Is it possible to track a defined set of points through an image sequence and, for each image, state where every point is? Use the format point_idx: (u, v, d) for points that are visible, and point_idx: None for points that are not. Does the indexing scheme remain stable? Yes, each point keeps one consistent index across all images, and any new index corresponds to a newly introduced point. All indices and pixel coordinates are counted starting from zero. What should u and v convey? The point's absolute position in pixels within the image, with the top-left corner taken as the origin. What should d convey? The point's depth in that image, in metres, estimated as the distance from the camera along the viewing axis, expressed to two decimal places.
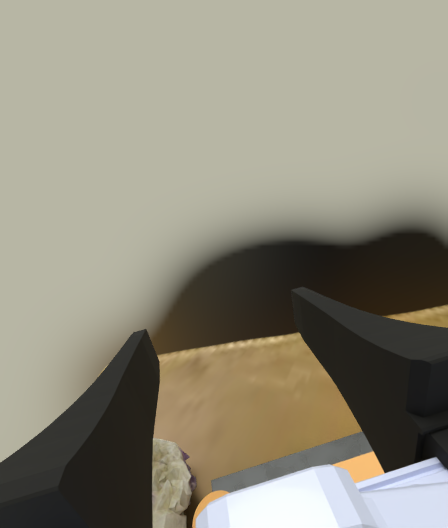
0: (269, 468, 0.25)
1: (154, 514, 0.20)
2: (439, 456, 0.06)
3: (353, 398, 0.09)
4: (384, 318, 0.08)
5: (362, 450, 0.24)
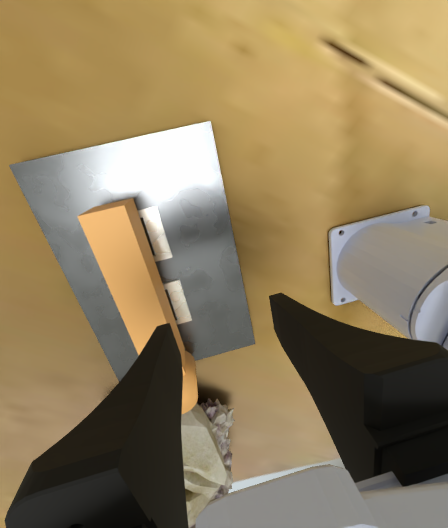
0: (101, 331, 0.22)
1: None
2: (394, 471, 0.06)
3: (324, 407, 0.09)
4: (352, 327, 0.08)
5: (67, 227, 0.18)
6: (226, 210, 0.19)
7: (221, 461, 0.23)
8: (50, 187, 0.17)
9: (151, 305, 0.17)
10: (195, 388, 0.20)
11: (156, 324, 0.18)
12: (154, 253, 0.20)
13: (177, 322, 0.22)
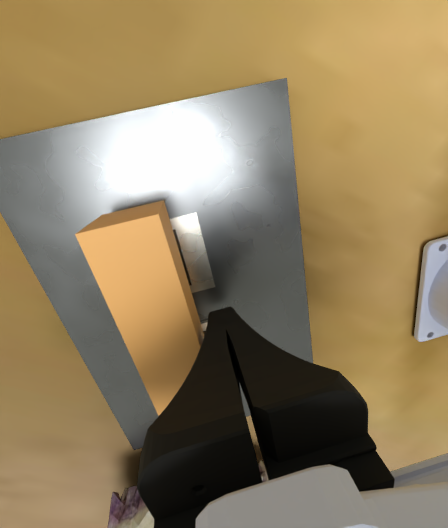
0: (110, 388, 0.15)
1: None
2: None
3: (255, 428, 0.09)
4: (276, 349, 0.08)
5: (60, 245, 0.12)
6: (296, 218, 0.13)
7: None
8: (32, 183, 0.11)
9: None
10: None
11: None
12: (189, 281, 0.13)
13: None
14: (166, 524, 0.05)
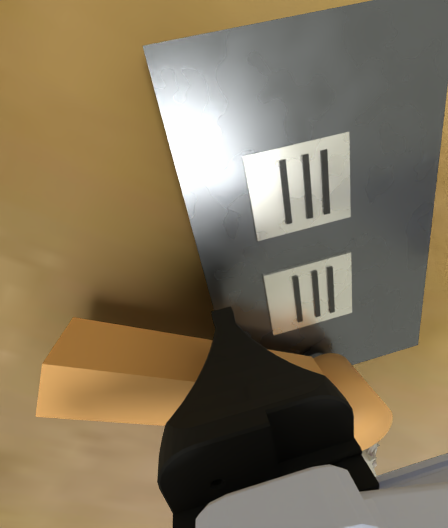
0: None
1: None
2: None
3: None
4: (266, 352, 0.08)
5: (212, 164, 0.12)
6: (437, 144, 0.13)
7: None
8: (200, 91, 0.10)
9: None
10: (370, 401, 0.12)
11: None
12: (329, 209, 0.13)
13: (333, 315, 0.16)
14: (185, 518, 0.06)
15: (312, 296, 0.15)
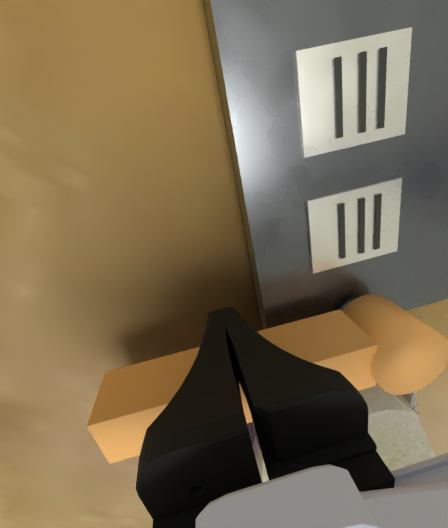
0: (266, 264, 0.14)
1: None
2: None
3: (255, 428, 0.09)
4: (277, 348, 0.08)
5: (261, 60, 0.10)
6: None
7: None
8: None
9: (240, 392, 0.11)
10: (409, 335, 0.11)
11: None
12: (383, 122, 0.12)
13: (377, 253, 0.14)
14: (165, 525, 0.05)
15: (357, 228, 0.14)
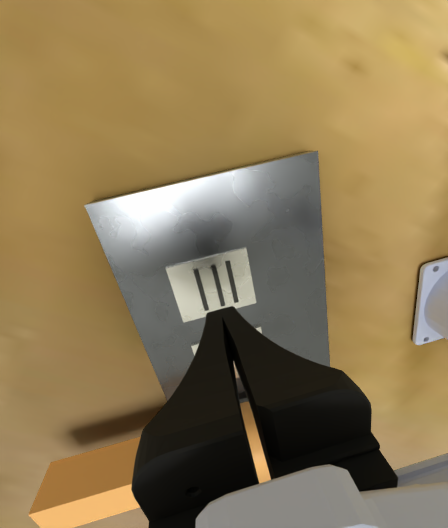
0: (168, 382, 0.19)
1: None
2: None
3: (257, 427, 0.09)
4: (279, 348, 0.08)
5: (143, 273, 0.16)
6: (321, 250, 0.17)
7: None
8: (129, 229, 0.14)
9: None
10: (251, 450, 0.16)
11: None
12: (237, 299, 0.17)
13: None
14: (161, 526, 0.05)
15: None
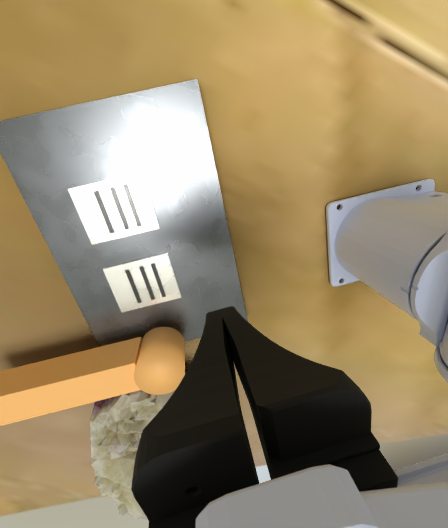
0: (87, 306, 0.21)
1: None
2: None
3: (257, 427, 0.09)
4: (279, 348, 0.08)
5: (48, 193, 0.17)
6: (215, 179, 0.18)
7: None
8: (29, 149, 0.16)
9: (46, 391, 0.19)
10: (148, 358, 0.18)
11: (69, 387, 0.19)
12: (139, 223, 0.19)
13: (166, 299, 0.21)
14: (161, 526, 0.05)
15: (144, 284, 0.21)
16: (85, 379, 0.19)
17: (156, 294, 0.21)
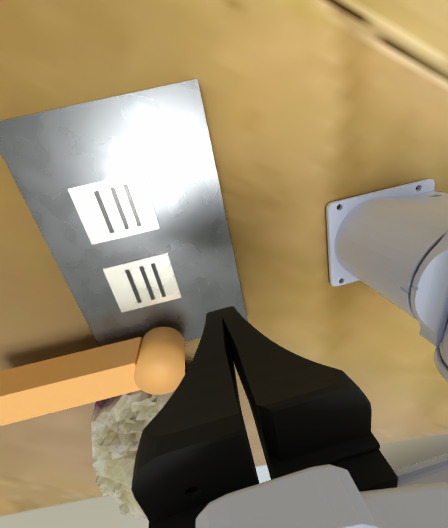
0: (87, 306, 0.21)
1: None
2: None
3: (257, 427, 0.09)
4: (279, 348, 0.08)
5: (48, 193, 0.17)
6: (215, 179, 0.18)
7: None
8: (29, 149, 0.16)
9: (46, 391, 0.19)
10: (148, 358, 0.18)
11: (69, 387, 0.19)
12: (139, 223, 0.19)
13: (166, 299, 0.21)
14: (161, 526, 0.05)
15: (144, 284, 0.21)
16: (85, 379, 0.19)
17: (156, 294, 0.21)
